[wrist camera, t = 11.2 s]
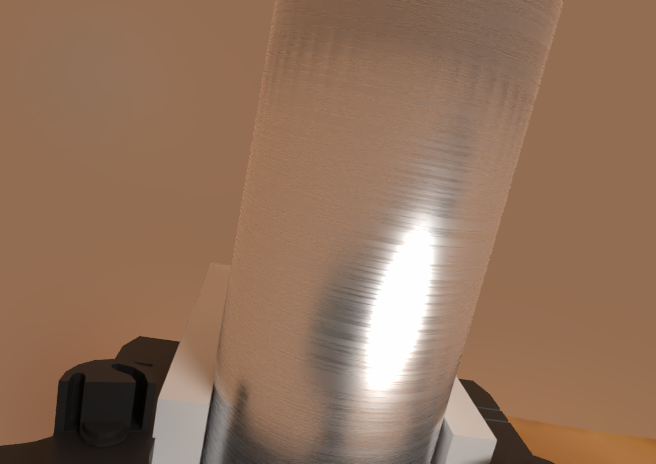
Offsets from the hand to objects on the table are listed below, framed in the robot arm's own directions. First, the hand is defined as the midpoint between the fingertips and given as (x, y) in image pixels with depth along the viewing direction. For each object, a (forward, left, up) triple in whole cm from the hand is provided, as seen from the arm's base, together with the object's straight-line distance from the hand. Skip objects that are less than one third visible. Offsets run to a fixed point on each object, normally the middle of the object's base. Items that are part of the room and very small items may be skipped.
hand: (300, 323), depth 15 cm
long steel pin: (0, +5, -12) cm, 13 cm away
